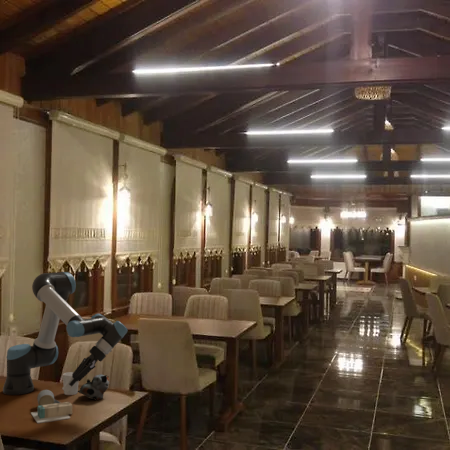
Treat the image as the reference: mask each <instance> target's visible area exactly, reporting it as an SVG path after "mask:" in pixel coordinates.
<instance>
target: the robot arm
mask: <svg viewBox="0 0 450 450" xmlns="http://www.w3.org/2000/svg"><path fill="white" fill-rule="evenodd" d="M31 286H32V287H31V288H32V294H33V295H34V296H35V298H36V299H37V300H38V302H39V301H40V302H43V303H44V304H45V306H44V307H45V308H44V313H43V316H42V320H41V324H40V328H39V333H38V334H37V335H38V336H37V338H34V340H33V343H32V345H30V344H29V343H21V344H16V345H13V346H10V347H9V348H8V349H7V352H6V378H5V382H4V384H3V386H2V393H3V394H4V395H7V396H10V395H11V396H16V395H19V396H20V395H25V394H29V393H32V392H33V391H34V390H35V385H34V381H33V379H32V376H31V369H36V368H41V367H47V366H50V365H53V364H54V363H55V362H56V361H57V360H58V357H59V348H58V345H57V343H56V341H55V339H56V334H57V331H58V327H59V324H60V320H61V322H63V323H64V325H66V333H67V335H68V336H69V337H71V338H81V337H84V336H85V337H86V336H89V335H96V334H100V335H101V337H100V338H99V339H98V341H97V342H96V343H94V344H95V345H93V346H92V347H91V348H90V349H89V353H90V355H89V356H87V357H84V358H83V360H82V361H81V362H80V364H79V365H78V366H77V367H76V369H75V370H74V371H73V372H74V373H73V374H72V375H73V376H72V378H71V379H70V380H69V381H68V382H67V383H66V384H65V385H62V388H61V389H62V390H63V392H64V391H65V392H66V393H67V392H68V391H69V390H70V389H71V388H72V386H73V385H74V384H75V383H76V382H77V381H79V382H81V381H82V379H84V378H85V377H86V376H87V375H88V374H89V373H90V372H91V371H92V370H93V369H95V368H96V363H97V362H98V361H99V362H102V361H103V360H104V359H105V358H106V357H107V355H109V353H111V352H113V351H112V350H113V349H114V347H115V346H117V345H118V344H119V342H121V340H122V339H123V338H124V337H125V335H126V334H127V333H128V328H127V327H126V326H125V325H124V323H122V322H121V321H119V320H116V321H115V322H112V321H111V320H110V319H109V318H107V317H106V316H105V315H103V314H101V313H96V314H94V315H92V316H91V318H86V319H85V318H83V317H82V316H81V315H80V314H79V313H78V312H77V311H76V310H75V309H74V308H73V307H72V306H71V304H69V303H68V302H67V301H68V299H69V297H70V295H72V294H73V293H75V292H76V287H77V285H76V279H75V277H74V276H73V274H71V272H68V271H67V272H66V271H65V272H64V271H61V272H59V271H58V272H44V273H40V274H39V275H37V276H36V277H35V278H34V279H33V282H32V285H31Z"/></svg>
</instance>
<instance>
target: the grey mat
mask: <svg viewBox="0 0 450 450" xmlns="http://www.w3.org/2000/svg"><path fill="white" fill-rule="evenodd" d="M30 414H31V416H32V418H33V419H34V420H35V422H36V423H37V424H43V423H51V422H57V421H63V420H70V419H71V416H70V414H68V415H62V416H55V417H48V418H41V419H40V418H39V416H38V411H32V412H30Z"/></svg>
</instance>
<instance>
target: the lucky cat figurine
mask: <svg viewBox="0 0 450 450" xmlns="http://www.w3.org/2000/svg"><path fill="white" fill-rule="evenodd" d="M109 384H110V378H109V375H104V374H100V373H99V374H96V375H94V376H93V377H92V380H91V379H90V378H88V379H86V383H84V384H82V385H81V387H80V388H79V389H78V393H79V394H81V395H84V396H85V397H87V398H88V399H91V400H95V401H99V400H101V399H103V398H104V395H105V392H106V391H107V390H108V388H109Z"/></svg>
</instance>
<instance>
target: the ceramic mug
mask: <svg viewBox="0 0 450 450" xmlns="http://www.w3.org/2000/svg"><path fill="white" fill-rule="evenodd" d="M36 399H37V406H41V405H48V404H55V403H61V401H59V400H57V399H55V395H54V393H53V391H51V390H49V389H42V390H40V392H39V393H38V394H37V398H36Z"/></svg>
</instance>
